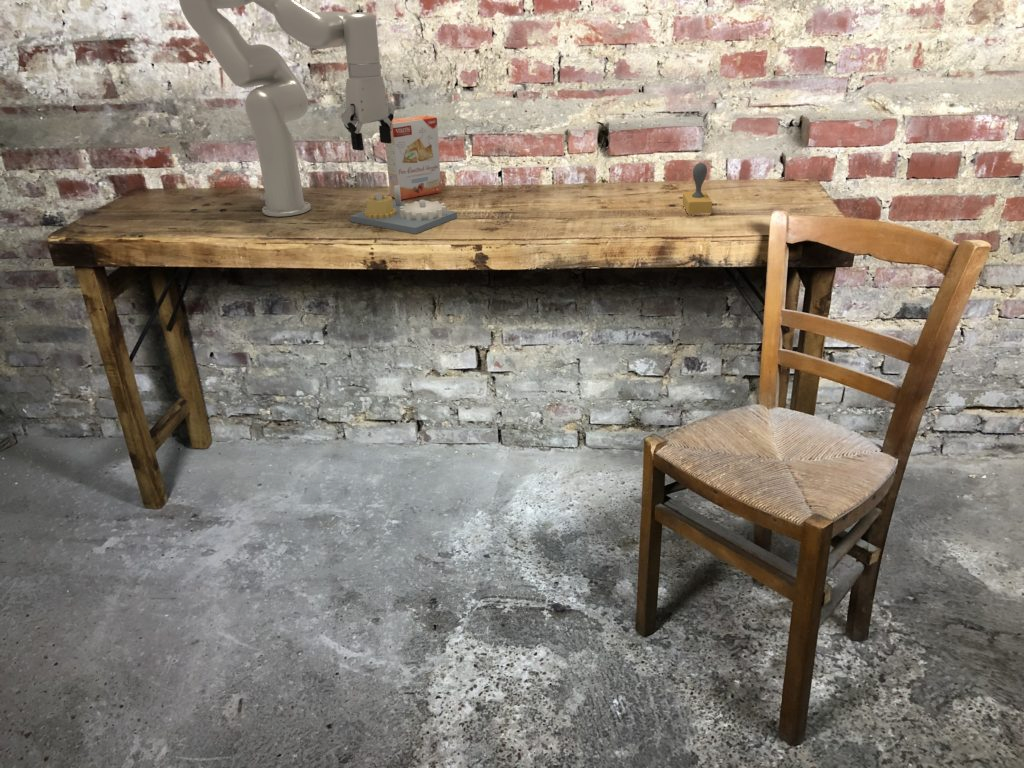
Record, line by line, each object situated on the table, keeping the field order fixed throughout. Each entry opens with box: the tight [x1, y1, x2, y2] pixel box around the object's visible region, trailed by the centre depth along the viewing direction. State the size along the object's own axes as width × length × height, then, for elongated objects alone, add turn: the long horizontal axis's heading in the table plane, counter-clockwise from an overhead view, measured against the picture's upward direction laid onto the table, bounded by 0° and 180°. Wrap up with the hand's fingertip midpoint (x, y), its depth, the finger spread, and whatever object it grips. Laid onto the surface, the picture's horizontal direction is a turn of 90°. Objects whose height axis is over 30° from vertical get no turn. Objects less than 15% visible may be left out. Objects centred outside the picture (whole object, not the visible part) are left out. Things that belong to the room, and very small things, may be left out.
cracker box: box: [384, 114, 442, 201], centre depth 211 cm, size 14×6×21 cm, turn 126°
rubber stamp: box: [682, 162, 713, 214], centre depth 191 cm, size 10×6×12 cm, turn 177°
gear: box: [364, 194, 397, 219], centre depth 193 cm, size 8×8×4 cm
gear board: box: [349, 185, 458, 235], centre depth 192 cm, size 22×16×6 cm
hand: (372, 146), depth 186 cm, fingers open, 9 cm apart
